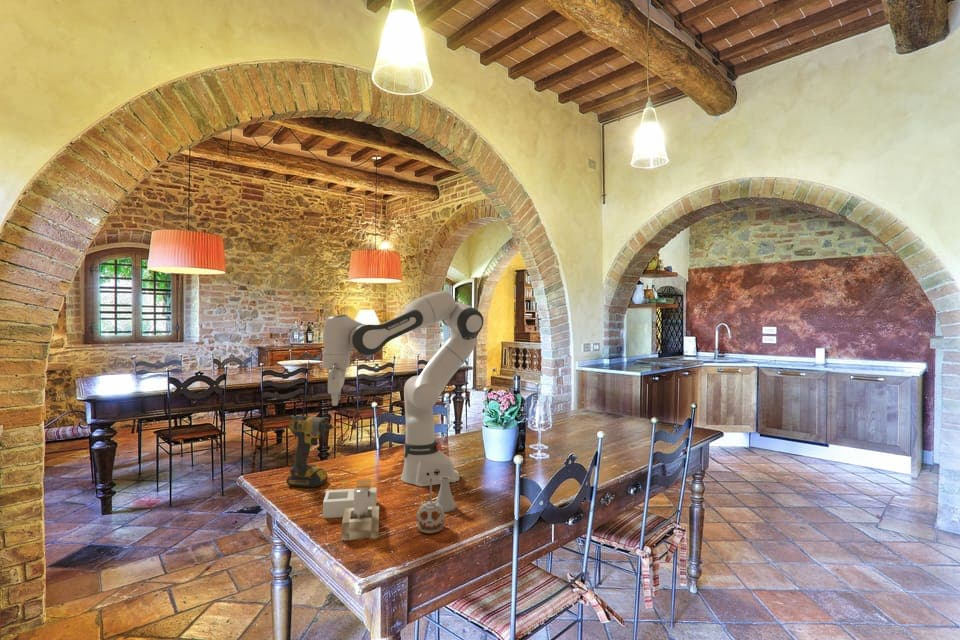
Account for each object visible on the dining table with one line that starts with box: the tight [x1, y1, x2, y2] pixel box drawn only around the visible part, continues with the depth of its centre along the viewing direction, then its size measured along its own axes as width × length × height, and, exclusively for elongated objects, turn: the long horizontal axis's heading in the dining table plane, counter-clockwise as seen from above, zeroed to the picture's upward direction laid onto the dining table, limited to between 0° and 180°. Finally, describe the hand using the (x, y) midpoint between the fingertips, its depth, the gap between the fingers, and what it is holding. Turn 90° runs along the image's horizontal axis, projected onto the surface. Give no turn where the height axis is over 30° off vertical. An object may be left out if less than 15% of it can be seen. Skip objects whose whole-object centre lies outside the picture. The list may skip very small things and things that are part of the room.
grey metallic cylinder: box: [354, 488, 368, 519], centre depth 137 cm, size 4×4×12 cm
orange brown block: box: [355, 478, 372, 497], centre depth 153 cm, size 4×6×7 cm
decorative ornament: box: [416, 478, 445, 534], centre depth 139 cm, size 8×8×15 cm
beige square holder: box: [341, 505, 380, 541], centre depth 137 cm, size 10×10×5 cm
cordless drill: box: [286, 414, 342, 488], centre depth 174 cm, size 9×20×25 cm, turn 78°
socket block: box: [322, 486, 378, 519], centre depth 152 cm, size 16×10×5 cm, turn 101°
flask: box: [435, 476, 457, 513], centre depth 154 cm, size 7×7×10 cm
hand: (336, 402), depth 161 cm, fingers open, 8 cm apart
